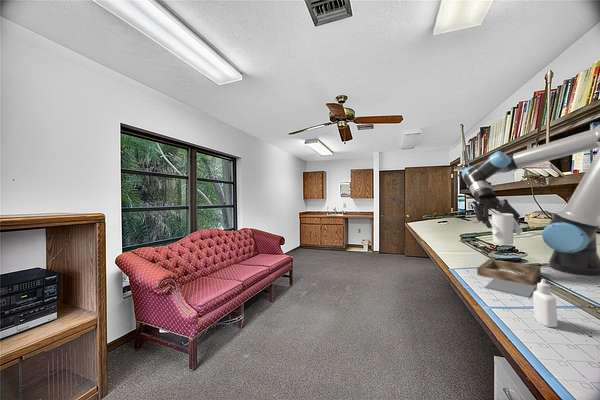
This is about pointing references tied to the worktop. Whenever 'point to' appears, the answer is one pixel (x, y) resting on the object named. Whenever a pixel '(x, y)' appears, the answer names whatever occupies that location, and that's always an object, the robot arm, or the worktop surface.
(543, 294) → the eye dropper bottle
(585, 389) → the worktop surface
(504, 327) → the worktop surface
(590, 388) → the worktop surface
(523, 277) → the walnut collar
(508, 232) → the mug
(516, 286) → the rubber mat
